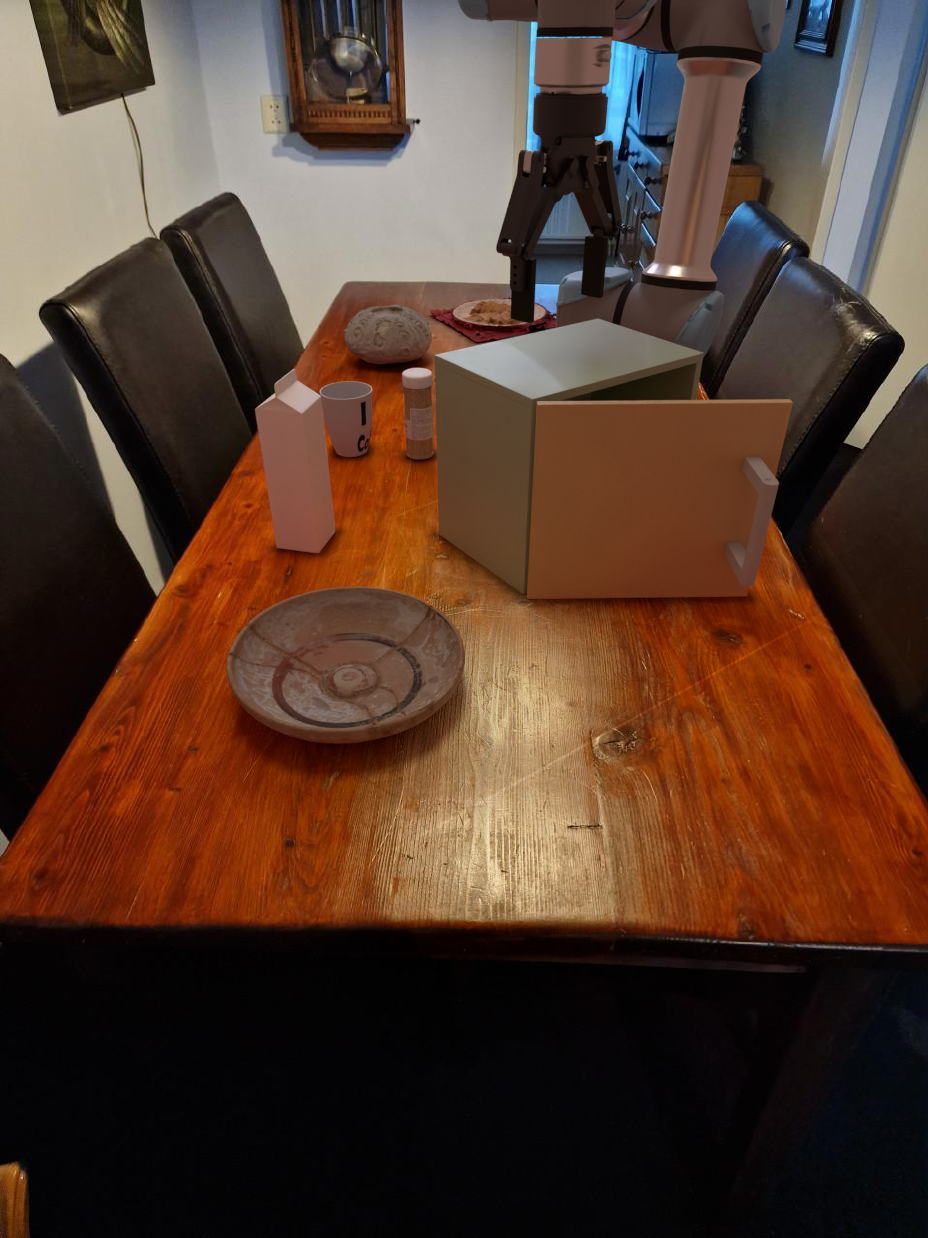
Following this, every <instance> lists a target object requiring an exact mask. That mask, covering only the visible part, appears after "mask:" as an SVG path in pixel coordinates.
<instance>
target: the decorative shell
mask: <svg viewBox="0 0 928 1238" xmlns="http://www.w3.org/2000/svg"><path fill="white" fill-rule="evenodd" d="M343 335H344V343H345V346H346V347H347V350H348V351H349V352H350V354H352V355H356V356H357V357H358V358H360V359H361V360H363V361H365V362H366V363H369V364H375V365H381V366H382V365H385V364H386V365H387V364H388V365H389V364H392V365H393V364H401V363H409V362H413V361H415V360H418V359H419V358H421V357H422V356H423V355H425V354H426V353H427V352H428V350H429V349H430V346H431V344H432V343H433V342H432V341H433V336H432V335H433V334H432V331H431V327H430V322H429V321H427V320H426V319H425V317H423V315H422V314H420V313H419V312H417V311H416V310H414V309H411V308H409V307H408V305H405V306H404V305H400V304H391V305H375V306H370V307H367V308H365V309H359V312H357V313H356V314H355V315H354V316H353V317H352V318H351V319H350V320H349V322H348V324H347V326H346V328H345V329H344V330H343Z"/></svg>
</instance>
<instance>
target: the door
mask: <svg viewBox="0 0 928 1238" xmlns="http://www.w3.org/2000/svg"><path fill="white" fill-rule="evenodd" d="M793 405H794V402H793V401H792V400H791V399H790V398H785V399H784V398H779V399H778V398H776V399H775V398H774V399H773V398H772V399H771V398H770V399H769V398H768V399H765V398H763V399H760V398H759V399H756V398H755V399H696V400H638V401H537V406H536V426H535V445H534V465H533V485H532V505H531V525H530V544H529V564H528V584H527V593H526V597H527V599H528V600H549V599H550V600H556V599H557V600H561V599H566V600H567V599H569V600H571V599H574V600H575V599H644V598H645V599H646V598H647V599H648V598H649V599H650V598H652V599H653V598H654V599H655V598H657V599H658V598H733V597H734V598H739V597H741V598H743V597H744V598H745V597H748V593H749V589H750V588H751V587H754V586H755V584H756V580H757V575H758V572H759V567H760V564H761V559H762V556H763V552H764V547H765V543H766V539H767V535H768V531H769V526H770V523H771V517H772V513H773V510H774V506H775V502H776V501H775V500H776V497H777V493H778V489H779V485H780V482H779V480H778V479H777V478H776V476H777V472H778V468H779V464H780V460H781V456H782V455H781V454H782V451H783V450H782V449H783V448H784V447H783V446H784V442H785V439H786V435H787V429H788V426H789V421H790V417H791V413H792V408H793Z"/></svg>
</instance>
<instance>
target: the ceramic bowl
mask: <svg viewBox="0 0 928 1238" xmlns="http://www.w3.org/2000/svg"><path fill="white" fill-rule="evenodd" d="M465 663H466V651H465V646H464V642H463V638H462V636H461V633H460V632H459V630H458V628H457V627H456V625H455V624H454V623H453V621H452V620H451V619H450V617H448V616H447V615H446V614H445V613H443V612H442V611H441V610H439V609H438V608H437V607H435V606H433V605H432V604H430V603H429V602H427V601H425V600H423V599H421V598H418V597H417V596H414V595H411V594H408V593H405V592H401V591H398V590H393V589H389V588H382V587H375V586H352V585H351V586H338V587H328V588H321V589H316V590H312V591H307V592H303V593H300V594H297V595H294V596H291V597H288V598H285V599H283V600H281V601H279V602H276V603H274V604H271V606H269V607H267V608H265V609H263V610H262V611H261V612H259V613H258V614H256V615H255V616H254V617H253V618H252V619H250V620H249V621H248V622H247V623H246V624H245V625H244V627H243V628H241V630H240V631H239V632H238V634H237V635H236V637H235V639H234V640H233V642H232V644H231V646H230V648H229V651H228V654H227V659H226V675H227V682H228V684H229V687H230V689H231V692H232V694H233V695H234V698H235V699H236V701H237V702H238V703H239V705H240V706H241V707H242V709H244V711H245V712H246V713H248V714H249V715H250V717H252V718H254V719H255V720H256V721H258V722H259V723H261V724H262V725H264V726H266V727H267V728H268V729H271V730H273V731H275V732H278V733H280V734H282V735H285V736H288V737H290V738H295V739H299V740H303V741H308V742H312V743H322V744H323V743H324V744H356V743H364V742H368V741H369V742H370V741H373V740H378V739H383V738H386V737H391V736H393V735H397V734H401V733H402V732H404V731H407V730H409V729H412V728H413V727H415V726H418V725H420V724H421V723H423V722H424V721H426V720H427V719H429V718H430V717H432V716H433V715H435V714H436V713H437V712H438V711H439V710H440V709H441V708H442V707H443V706H444V705H445V704H446V703H448V701H449V700H450V699H451V697H452V696H453V694H454V693H455V692H456V690H457V688H458V687H459V684H460V682H461V680H462V676H463V673H464V669H465V665H466V664H465Z"/></svg>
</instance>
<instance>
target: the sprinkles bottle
mask: <svg viewBox="0 0 928 1238" xmlns="http://www.w3.org/2000/svg"><path fill="white" fill-rule="evenodd" d="M433 379H434V378H433V372H432V371H431V370H430V369H428V368H424V367H411V368H407V369H405V370H403V371H402V373H401V383H402V386H403V400H404V408H403V409H404V413H403V414H404V430H405V432H404V434H405V449H406V450H405V455H406V457H407V458H409V459H411V460H417V461H418V460H419V461H420V460H422V461H423V460H427V459H431V458H432V457H433V456H434V454H435V452H434V451H435V450H434V442H433V441H434V440H433V438H434V419H433V418H434V416H433V394H432V393H433V392H432V391H433V389H432V388H433V383H434V380H433Z"/></svg>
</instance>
